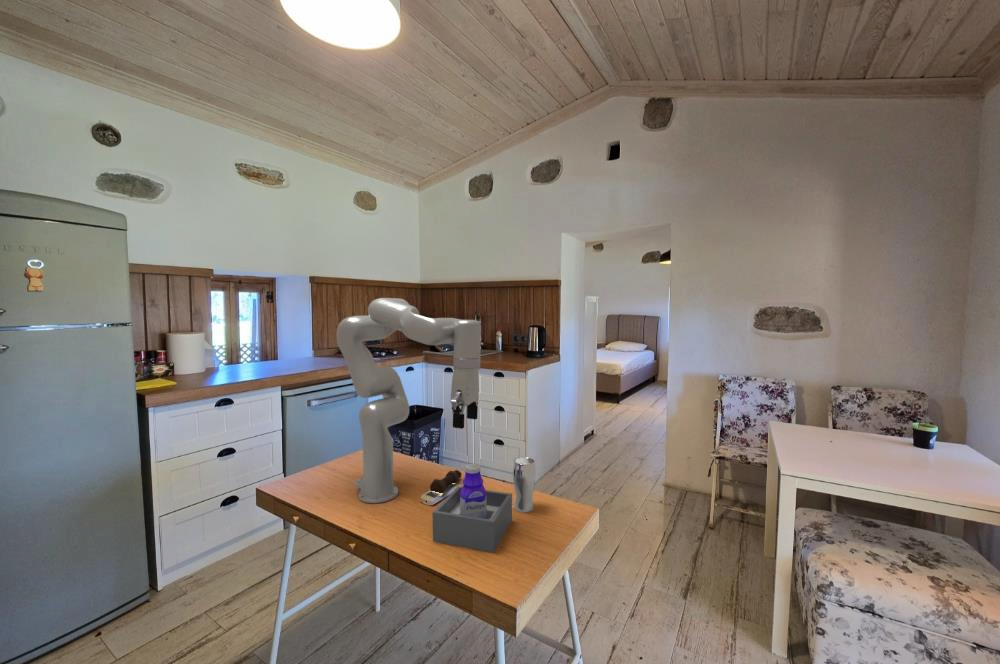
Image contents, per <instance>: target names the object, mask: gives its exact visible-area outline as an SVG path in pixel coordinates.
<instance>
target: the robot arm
mask: <svg viewBox="0 0 1000 664" xmlns="http://www.w3.org/2000/svg"><path fill="white" fill-rule="evenodd" d="M367 314H368V315H352V316H349V317H345V318H344V319H342V320H340V323H339V324H338V326H337V328H336V343H337V346H338V348H339V350H340V352H341V355H342V356H343V358H344V360H345V361H346V362H345V363H346V365H347V369H348V372H349V374H350V378H351V381H352V384H353V388H354V390H355V392H356V394H357V396H359V397H360V398H362V399H369V398H375V397H379V396H382V398H379V399H375V400H372V401H369V402H366V403H365V404H363V406H362V407H361V408H360V410H359V413H358V418H359V419H358V421H359V425H360V426H359V427H360V429H361V435H362V467H363V469H362V473H363V474H362V475H363V477H362V478H356V480H355V483H354V485H353V486H354V488H359V489H360V491H359V492H358V499H359V500H360V501H361V502H363V503H367V504H379V503H380V504H381V503H384V502H385V503H386V502H388V501H390V500H394V498H396V497H397V496H398V494H399V487H398V486H396V485H395V484H394V442H393V437H392V435H391V433H390V432H389V430H388V428H389V427H392V426H394V425H397V424H401V423H402V422H405V421H406V420H407V419H408V417H409V415H410V404H409V401H408V398H407V396H406V392H405V389H404V387H403V383H402V380H401V377H400V375H399V373H398V372H397V371H396V370H395V369H394V368H393V367H391V366H387V365H386V366H384V365H383V366H377V365H376V362H375V360H374V357H373V354H372V353H371V351H370V350H369V349H368V347H367V346H365V345H364V344H363V342H366V341H381V340H383V339H384V340H385V339H386V338H388V337H390V335H392V334H393V333H395V332H396V331H399V332H401V333H402V334H403V335H404V336H405V337H406V338H408V339H409V340H412V341H414V342H418V343H421V344H424V345H428V346H438V345H440V346H441V345H448V344H453V373H452V377H451V387H450V389H451V390H450V404H451V413H452V428H453V429H460V430H463V429H465V413H464V411H465V408H466V418H467V420H468V419H470V420H477V419H478V414H479V413H478V409H479V408H478V407H479V401H478V400H479V392H480V389H479V388H480V378H479V377H480V376H479V370H481V351H482V347H481V346H482V345H481V343H482V340H481V339H482V324H481V322H480V321H479V320H476V319H460V318H455V317H437V318H435V317H426V316H424V315H420V312H419V310H418V308H417V307H415V306H414V305H411V304H410V303H409V302H408V301H407V300H405V299H403V298H397V297H396V298H395V297H393V298H392V297H380V298H376V299H373V300H372V301H371V302H370V304H369V305H368V307H367Z"/></svg>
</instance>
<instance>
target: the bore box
mask: <svg viewBox="0 0 1000 664" xmlns="http://www.w3.org/2000/svg"><path fill="white" fill-rule="evenodd" d="M462 487H463V486H459V485H458V486H457V487H456V488H455V489H453V491H451V493H449V495H447V497H446V498H445V499H443V501H442V502H441V503H440V504H439V505H437V507H436V508H435V509H434V510H433V511H432V542H433V543H439V544H444V545H450V546H456V547H459V548H466V549H471V550H476V551H481V552H488V553H492V554H494V553H495V551H496V549H497V548H498V547H499V544H500V543H501V541H502V538H503V537H504V535H505V533H506V532H507V530H508V528H509V527H510V524H511V523H512V521H513V494H512V493H508V492H501V491H494V490H486V489H485V490H486V506H487V519H483V518H477V517H471V516H465V515H460V492H461V489H462Z"/></svg>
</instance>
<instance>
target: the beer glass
mask: <svg viewBox="0 0 1000 664" xmlns="http://www.w3.org/2000/svg"><path fill="white" fill-rule="evenodd" d="M536 474H537V472H536V460H535V459H534V458H532V457H529V456H527V457H526V456H520V457H516V458H514V459H513V470H512V478H513V479H512V481H513V486H514V494H515V500H514V507H513V509H514V510H515V511H516V512H518V513H524V514H527V513H530V512H533V511H534V509H535V507H534V501H533V499H534V498H533V496H534V489H535V484H536V476H537V475H536Z"/></svg>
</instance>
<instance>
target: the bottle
mask: <svg viewBox="0 0 1000 664" xmlns="http://www.w3.org/2000/svg"><path fill="white" fill-rule="evenodd" d="M464 472H465V475H464V478H463V479H462V486H461V487H462V489H461V492H460V515H465V516H471V517H477V518H483V519H487V506H486V488H485V486H484V479H483V477H482V475H481V465H480V464H477V463H469V464H467V465H465V471H464Z"/></svg>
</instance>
